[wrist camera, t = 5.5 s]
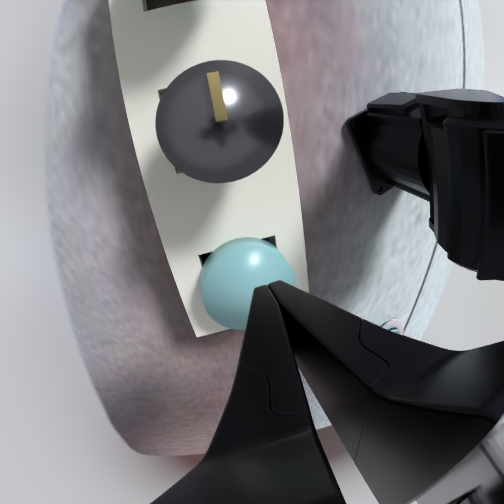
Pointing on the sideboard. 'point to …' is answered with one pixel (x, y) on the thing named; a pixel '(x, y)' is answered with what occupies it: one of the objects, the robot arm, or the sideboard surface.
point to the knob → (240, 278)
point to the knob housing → (177, 183)
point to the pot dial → (219, 121)
